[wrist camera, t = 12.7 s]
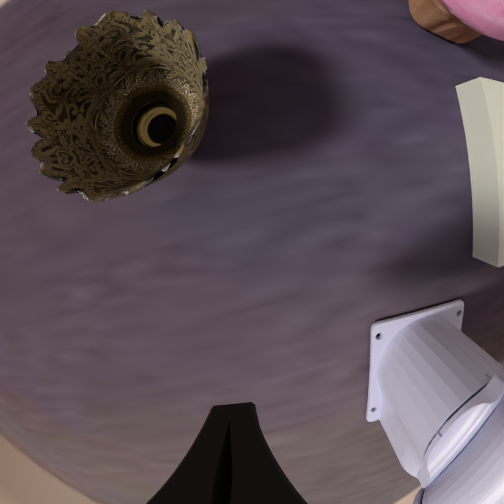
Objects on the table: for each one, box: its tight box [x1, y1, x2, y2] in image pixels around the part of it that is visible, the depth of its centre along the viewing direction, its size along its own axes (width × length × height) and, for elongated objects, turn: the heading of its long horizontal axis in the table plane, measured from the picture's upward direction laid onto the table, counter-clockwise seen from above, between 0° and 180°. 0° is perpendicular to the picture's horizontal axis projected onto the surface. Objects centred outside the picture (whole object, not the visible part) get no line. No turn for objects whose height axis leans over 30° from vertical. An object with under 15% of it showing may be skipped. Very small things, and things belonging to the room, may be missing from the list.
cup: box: [25, 9, 209, 202], centre depth 12 cm, size 8×7×8 cm
